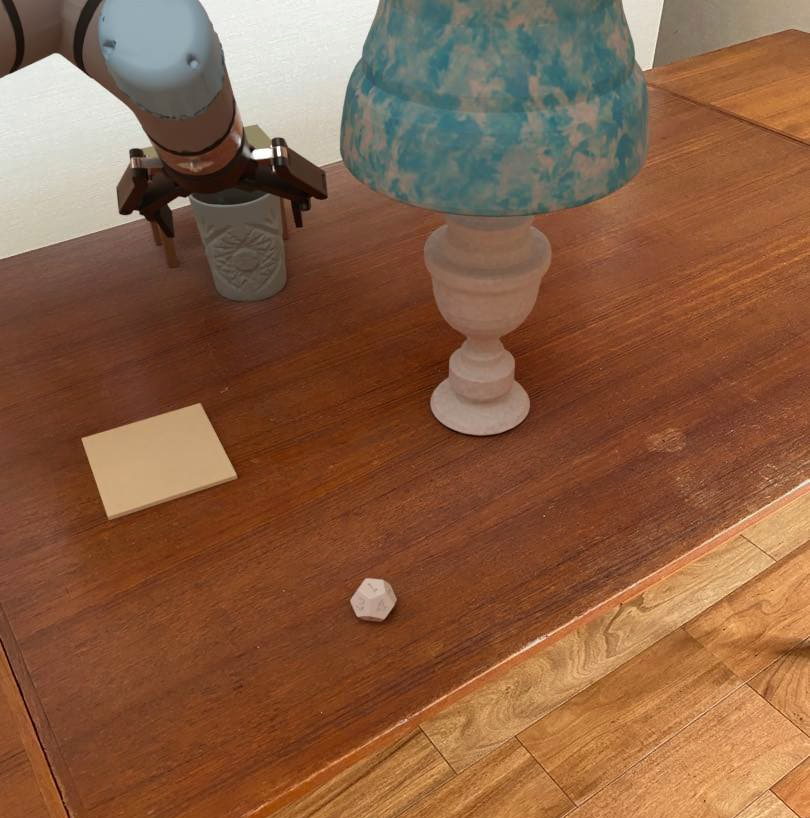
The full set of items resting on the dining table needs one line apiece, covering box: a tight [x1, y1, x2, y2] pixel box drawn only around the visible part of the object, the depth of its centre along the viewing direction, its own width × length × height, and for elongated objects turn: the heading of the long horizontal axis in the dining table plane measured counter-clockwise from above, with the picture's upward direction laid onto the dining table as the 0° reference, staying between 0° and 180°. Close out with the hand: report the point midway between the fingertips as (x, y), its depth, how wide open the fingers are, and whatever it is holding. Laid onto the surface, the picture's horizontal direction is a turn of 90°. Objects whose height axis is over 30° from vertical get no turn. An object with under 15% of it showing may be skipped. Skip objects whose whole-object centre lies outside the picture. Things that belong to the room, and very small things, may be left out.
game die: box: [349, 577, 398, 623], centre depth 68 cm, size 4×4×3 cm
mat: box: [80, 402, 238, 521], centre depth 82 cm, size 12×12×1 cm
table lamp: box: [339, 0, 651, 437], centre depth 72 cm, size 24×24×40 cm
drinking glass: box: [187, 178, 288, 303], centre depth 99 cm, size 10×10×12 cm
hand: (234, 219), depth 92 cm, fingers open, 13 cm apart
